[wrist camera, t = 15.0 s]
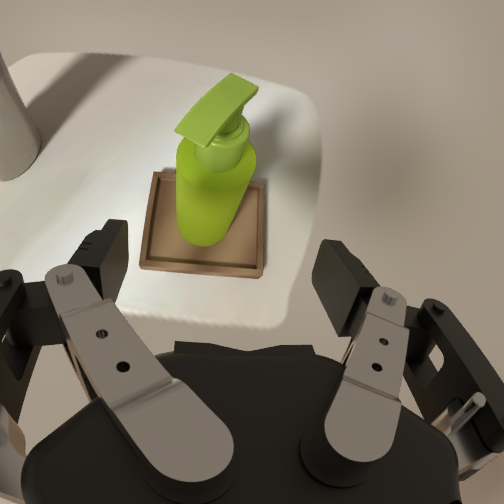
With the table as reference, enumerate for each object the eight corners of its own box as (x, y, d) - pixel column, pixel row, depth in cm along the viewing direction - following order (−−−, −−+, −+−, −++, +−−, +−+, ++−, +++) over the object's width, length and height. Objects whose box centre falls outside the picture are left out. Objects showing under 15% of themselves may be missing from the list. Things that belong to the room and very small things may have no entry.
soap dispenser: (160, 235, 32) (142, 108, 13) (196, 188, 34) (218, 46, 16) (206, 264, 32) (241, 163, 14) (239, 214, 35) (301, 88, 16)
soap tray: (141, 269, 32) (138, 265, 30) (154, 179, 35) (153, 171, 33) (258, 278, 34) (262, 275, 33) (260, 190, 38) (264, 183, 36)
